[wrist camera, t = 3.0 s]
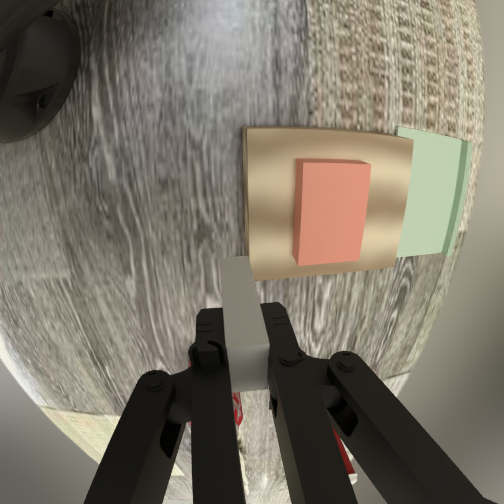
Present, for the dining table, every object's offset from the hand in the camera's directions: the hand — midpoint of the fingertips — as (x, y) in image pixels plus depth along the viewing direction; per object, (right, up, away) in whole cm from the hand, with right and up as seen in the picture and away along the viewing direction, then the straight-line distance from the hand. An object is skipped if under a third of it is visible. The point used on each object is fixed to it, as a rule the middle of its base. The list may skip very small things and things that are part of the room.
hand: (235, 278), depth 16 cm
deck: (+8, +7, +13) cm, 17 cm away
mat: (+22, +8, +14) cm, 28 cm away
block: (+8, +5, +9) cm, 13 cm away
